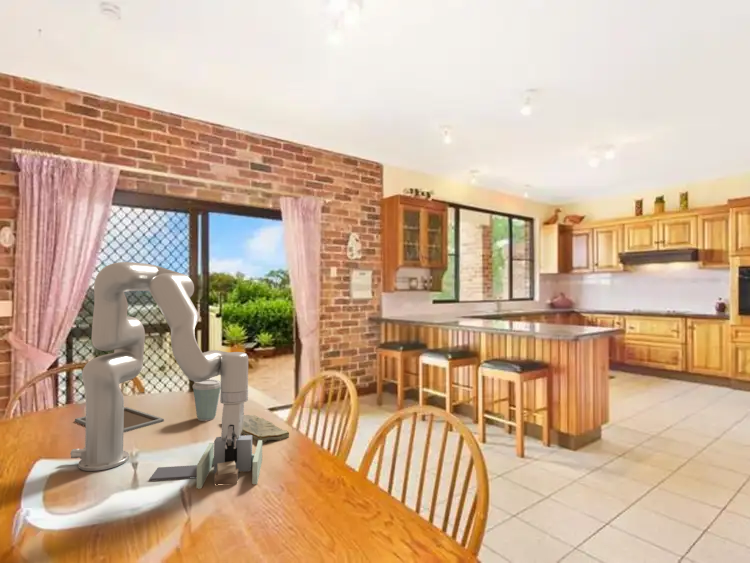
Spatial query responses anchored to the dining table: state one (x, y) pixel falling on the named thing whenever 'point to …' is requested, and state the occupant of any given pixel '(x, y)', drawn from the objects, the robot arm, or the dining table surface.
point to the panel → (174, 472)
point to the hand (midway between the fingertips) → (233, 455)
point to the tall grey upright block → (242, 452)
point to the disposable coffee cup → (206, 398)
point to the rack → (208, 461)
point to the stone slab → (262, 429)
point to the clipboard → (132, 419)
